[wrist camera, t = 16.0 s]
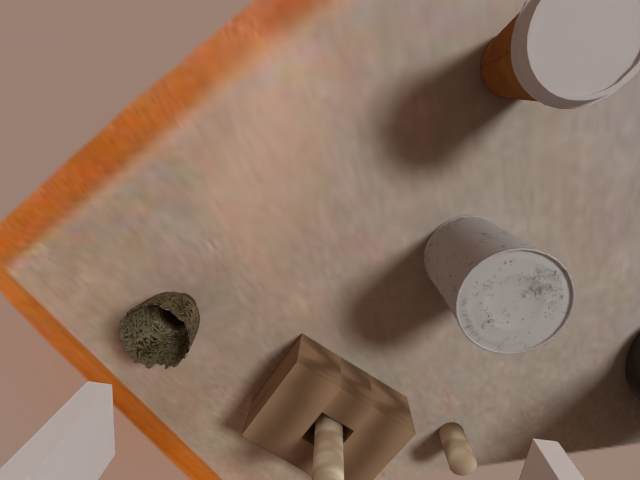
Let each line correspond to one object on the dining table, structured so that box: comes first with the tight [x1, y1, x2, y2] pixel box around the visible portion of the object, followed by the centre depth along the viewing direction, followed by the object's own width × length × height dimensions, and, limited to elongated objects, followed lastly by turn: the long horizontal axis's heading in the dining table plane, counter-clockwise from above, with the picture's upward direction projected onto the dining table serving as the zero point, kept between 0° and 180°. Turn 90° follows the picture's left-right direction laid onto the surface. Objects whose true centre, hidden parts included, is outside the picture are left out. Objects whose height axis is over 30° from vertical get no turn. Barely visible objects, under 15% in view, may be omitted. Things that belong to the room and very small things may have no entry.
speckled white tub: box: [424, 215, 575, 354], centre depth 37 cm, size 10×10×12 cm
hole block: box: [241, 334, 416, 480], centre depth 46 cm, size 16×12×6 cm
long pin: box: [312, 412, 344, 480], centre depth 42 cm, size 3×3×14 cm
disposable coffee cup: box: [481, 0, 640, 109], centre depth 31 cm, size 10×10×12 cm
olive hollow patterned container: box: [118, 292, 200, 369], centre depth 42 cm, size 8×7×8 cm
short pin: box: [439, 422, 477, 475], centre depth 47 cm, size 3×3×5 cm
